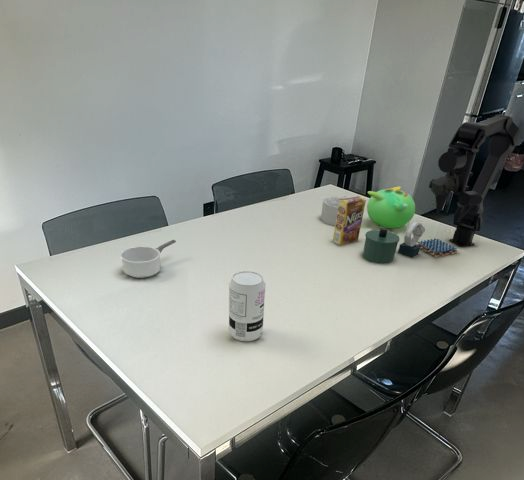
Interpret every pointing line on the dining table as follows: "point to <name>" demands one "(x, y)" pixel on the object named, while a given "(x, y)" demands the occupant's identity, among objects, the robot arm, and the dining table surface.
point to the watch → (411, 240)
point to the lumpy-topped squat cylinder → (330, 210)
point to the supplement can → (246, 305)
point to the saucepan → (142, 260)
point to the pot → (379, 252)
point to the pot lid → (382, 236)
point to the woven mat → (437, 247)
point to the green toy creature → (390, 207)
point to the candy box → (349, 220)
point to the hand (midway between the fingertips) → (447, 217)
